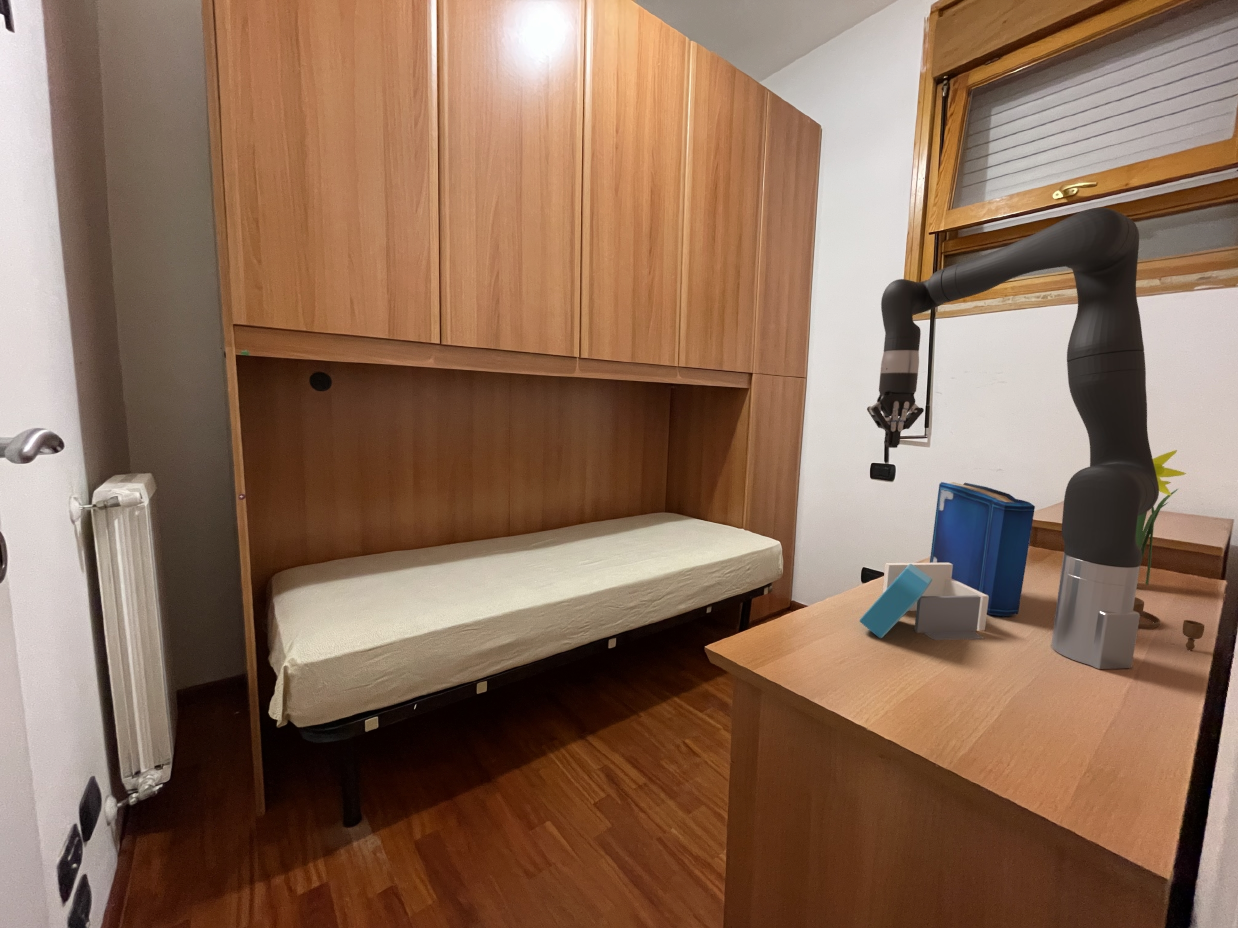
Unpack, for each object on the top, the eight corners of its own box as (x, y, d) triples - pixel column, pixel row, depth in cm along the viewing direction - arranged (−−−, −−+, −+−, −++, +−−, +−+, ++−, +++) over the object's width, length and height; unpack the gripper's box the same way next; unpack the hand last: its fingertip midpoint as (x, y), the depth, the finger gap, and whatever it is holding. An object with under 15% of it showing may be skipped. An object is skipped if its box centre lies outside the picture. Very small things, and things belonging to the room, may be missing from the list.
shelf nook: (999, 639, 90) (1006, 587, 89) (928, 641, 89) (933, 588, 88) (943, 607, 104) (948, 562, 103) (881, 608, 103) (885, 563, 102)
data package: (873, 603, 100) (911, 561, 95) (894, 620, 98) (934, 577, 93) (856, 623, 91) (897, 577, 86) (878, 641, 89) (922, 595, 83)
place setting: (1170, 620, 101) (1174, 593, 101) (1208, 661, 85) (1214, 628, 84) (1057, 600, 111) (1061, 575, 111) (1072, 632, 95) (1077, 603, 95)
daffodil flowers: (1082, 568, 132) (1101, 439, 127) (1163, 584, 121) (1187, 443, 117) (1078, 584, 120) (1099, 442, 116) (1167, 602, 110) (1194, 447, 105)
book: (1026, 620, 99) (1041, 499, 95) (990, 619, 99) (1005, 498, 96) (955, 581, 120) (966, 481, 117) (925, 581, 120) (936, 480, 117)
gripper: (882, 370, 107) (874, 448, 110) (938, 372, 109) (929, 449, 111) (861, 372, 115) (855, 445, 117) (914, 373, 116) (907, 446, 118)
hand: (891, 447), depth 114 cm, fingers closed
